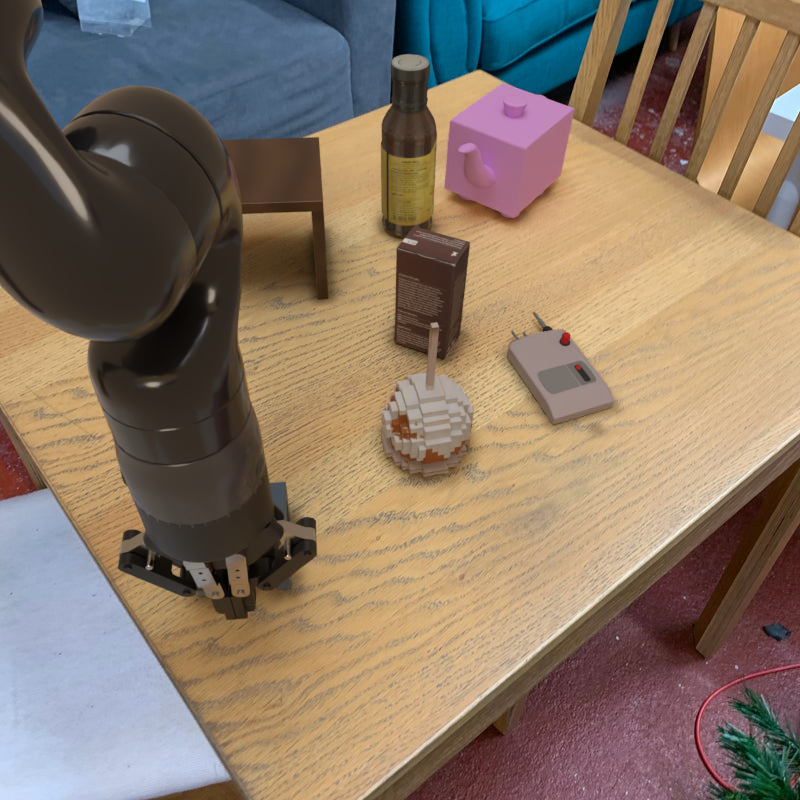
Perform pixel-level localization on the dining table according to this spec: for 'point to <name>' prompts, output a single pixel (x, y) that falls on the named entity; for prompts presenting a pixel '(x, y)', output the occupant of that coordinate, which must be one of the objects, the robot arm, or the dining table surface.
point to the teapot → (507, 148)
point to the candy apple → (427, 419)
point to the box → (430, 289)
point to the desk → (283, 185)
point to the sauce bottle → (408, 149)
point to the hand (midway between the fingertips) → (237, 607)
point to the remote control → (558, 374)
